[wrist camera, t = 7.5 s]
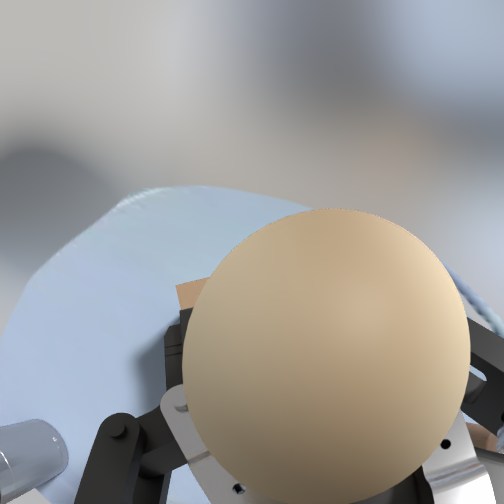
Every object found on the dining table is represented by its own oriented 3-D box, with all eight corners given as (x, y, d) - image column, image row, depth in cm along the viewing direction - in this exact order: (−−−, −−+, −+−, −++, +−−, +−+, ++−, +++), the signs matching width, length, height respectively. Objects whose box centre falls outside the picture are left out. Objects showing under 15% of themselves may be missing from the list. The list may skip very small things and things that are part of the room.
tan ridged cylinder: (232, 403, 16) (237, 540, 3) (210, 327, 18) (150, 247, 4) (308, 381, 17) (487, 424, 4) (287, 307, 18) (418, 189, 5)
